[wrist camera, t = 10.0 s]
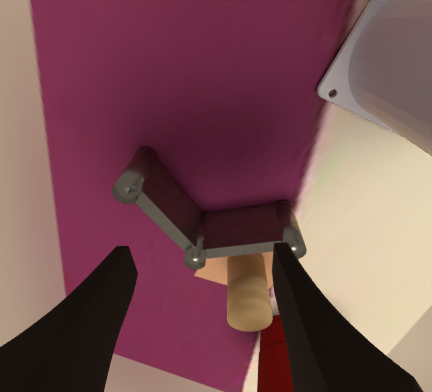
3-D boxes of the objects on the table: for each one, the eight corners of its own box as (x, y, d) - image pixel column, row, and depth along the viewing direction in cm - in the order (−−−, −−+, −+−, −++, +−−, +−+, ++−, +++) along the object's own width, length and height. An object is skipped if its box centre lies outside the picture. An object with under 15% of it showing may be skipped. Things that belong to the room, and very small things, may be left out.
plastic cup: (314, 352, 36) (347, 478, 27) (236, 345, 36) (240, 470, 26) (344, 306, 30) (401, 446, 20) (251, 296, 30) (262, 435, 20)
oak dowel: (257, 244, 25) (264, 301, 20) (268, 268, 27) (277, 326, 22) (221, 254, 26) (220, 311, 21) (235, 277, 28) (236, 334, 23)
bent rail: (295, 203, 23) (311, 247, 18) (263, 246, 26) (270, 293, 21) (139, 143, 20) (114, 178, 16) (124, 199, 23) (100, 241, 19)
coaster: (302, 244, 25) (303, 248, 25) (262, 292, 30) (262, 296, 29) (225, 217, 24) (225, 220, 23) (194, 271, 28) (194, 275, 28)
